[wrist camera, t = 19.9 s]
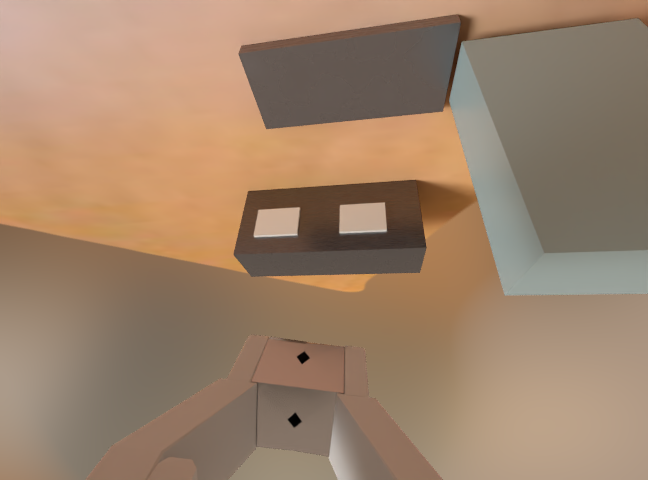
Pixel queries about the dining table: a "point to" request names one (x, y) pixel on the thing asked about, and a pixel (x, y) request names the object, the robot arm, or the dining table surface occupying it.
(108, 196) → the dining table surface
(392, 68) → the rail
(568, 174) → the block
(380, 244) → the block
